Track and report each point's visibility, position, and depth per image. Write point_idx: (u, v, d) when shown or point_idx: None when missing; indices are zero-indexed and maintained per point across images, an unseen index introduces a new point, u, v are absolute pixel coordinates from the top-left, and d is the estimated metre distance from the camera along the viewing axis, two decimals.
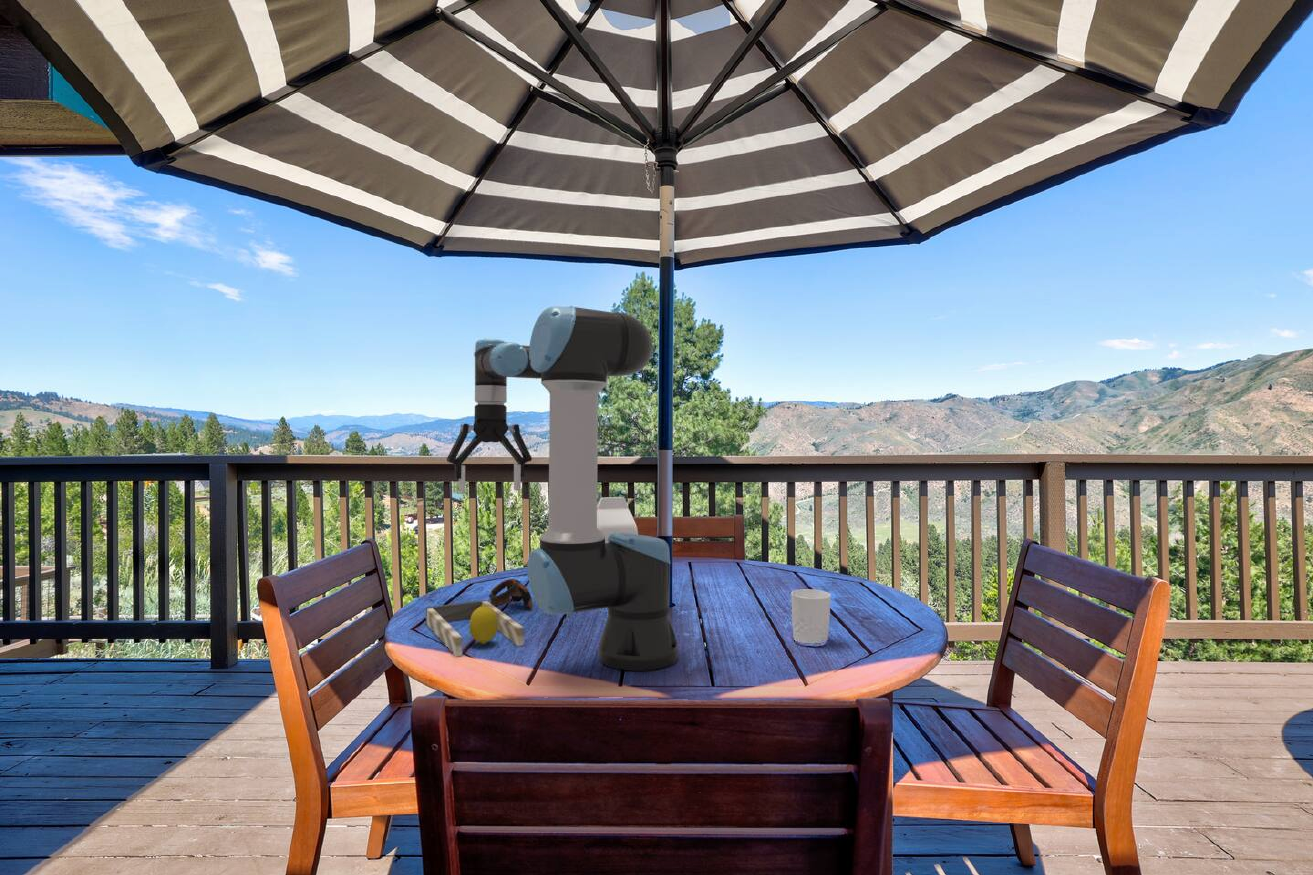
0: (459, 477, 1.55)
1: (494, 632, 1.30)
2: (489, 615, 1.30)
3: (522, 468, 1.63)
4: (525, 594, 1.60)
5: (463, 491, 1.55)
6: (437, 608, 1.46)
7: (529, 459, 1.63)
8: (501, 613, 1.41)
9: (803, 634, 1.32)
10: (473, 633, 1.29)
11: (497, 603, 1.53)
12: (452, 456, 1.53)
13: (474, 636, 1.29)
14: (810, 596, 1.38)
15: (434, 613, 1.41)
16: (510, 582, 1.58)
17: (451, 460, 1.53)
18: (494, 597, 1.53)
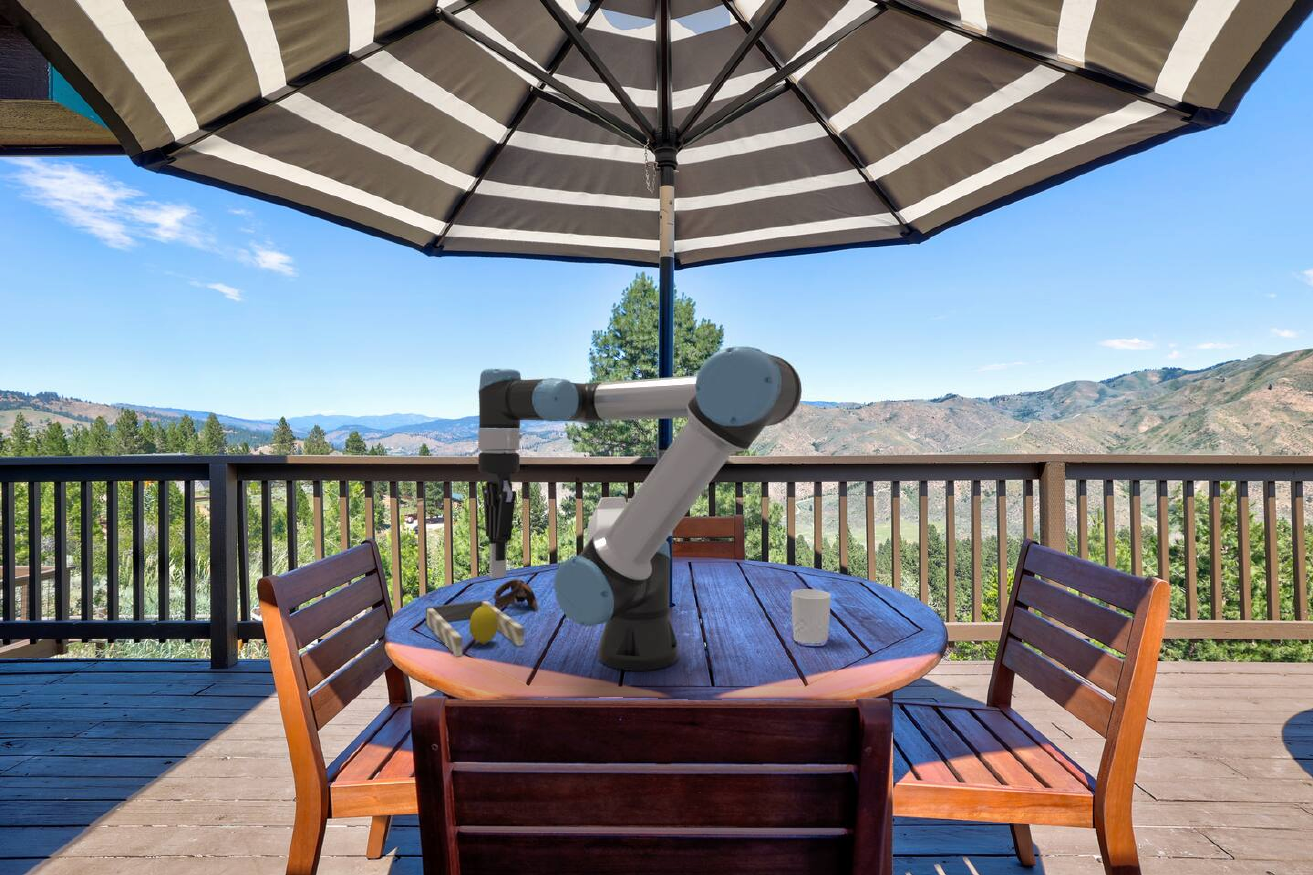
0: None
1: (494, 632, 1.30)
2: (489, 615, 1.30)
3: (496, 549, 1.22)
4: (529, 594, 1.59)
5: (490, 575, 1.23)
6: (437, 608, 1.46)
7: None
8: (501, 613, 1.41)
9: (803, 634, 1.32)
10: (473, 633, 1.29)
11: (502, 603, 1.53)
12: (486, 529, 1.26)
13: (474, 636, 1.29)
14: (810, 596, 1.38)
15: (434, 613, 1.41)
16: (514, 582, 1.58)
17: (486, 534, 1.26)
18: (499, 597, 1.53)
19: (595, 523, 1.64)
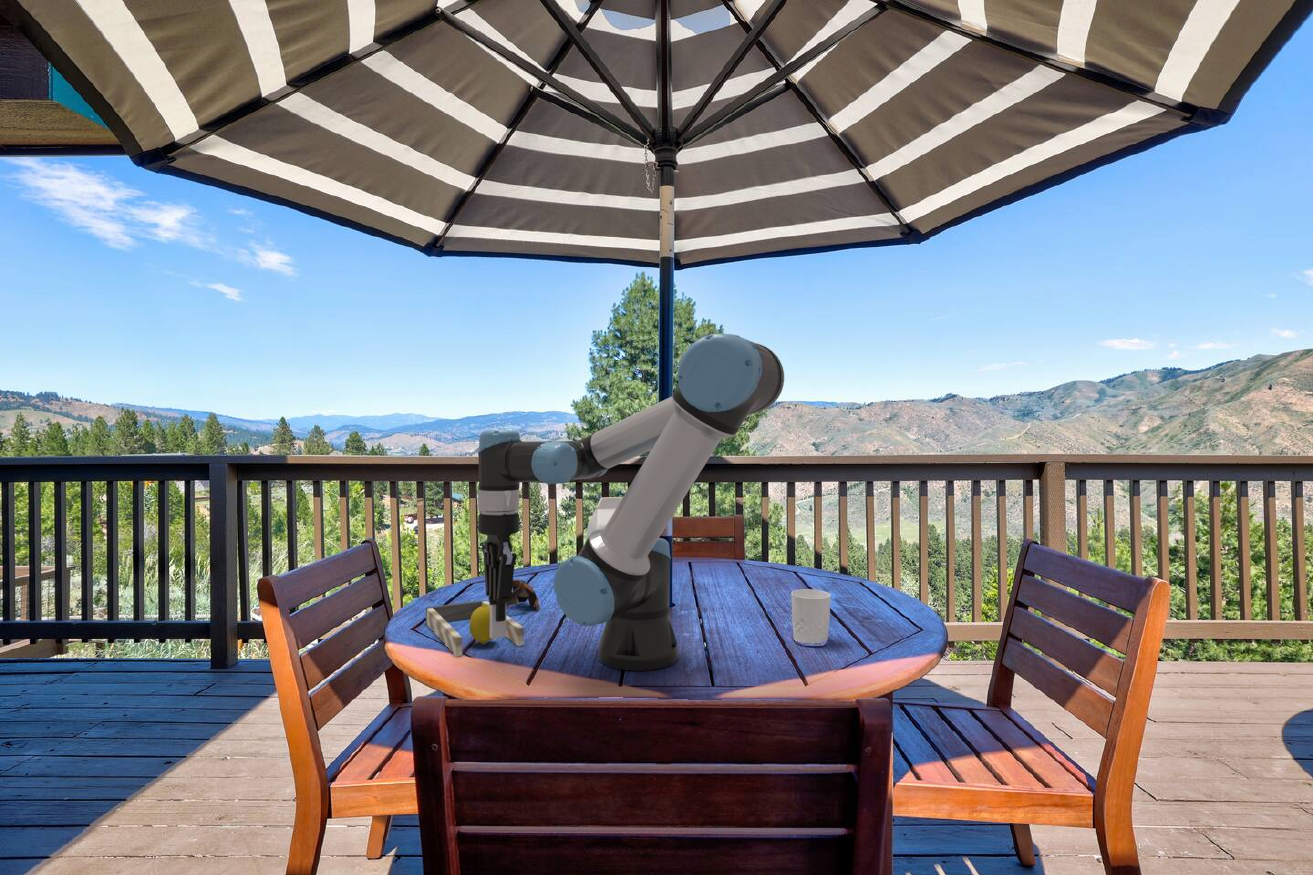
0: None
1: None
2: (489, 615, 1.30)
3: (497, 610, 1.22)
4: (531, 594, 1.59)
5: (490, 635, 1.23)
6: (437, 608, 1.46)
7: (496, 600, 1.21)
8: None
9: (803, 634, 1.32)
10: (473, 633, 1.29)
11: None
12: (486, 588, 1.26)
13: (474, 636, 1.29)
14: (810, 596, 1.38)
15: (434, 613, 1.41)
16: (516, 582, 1.58)
17: (486, 593, 1.26)
18: None
19: (595, 523, 1.64)
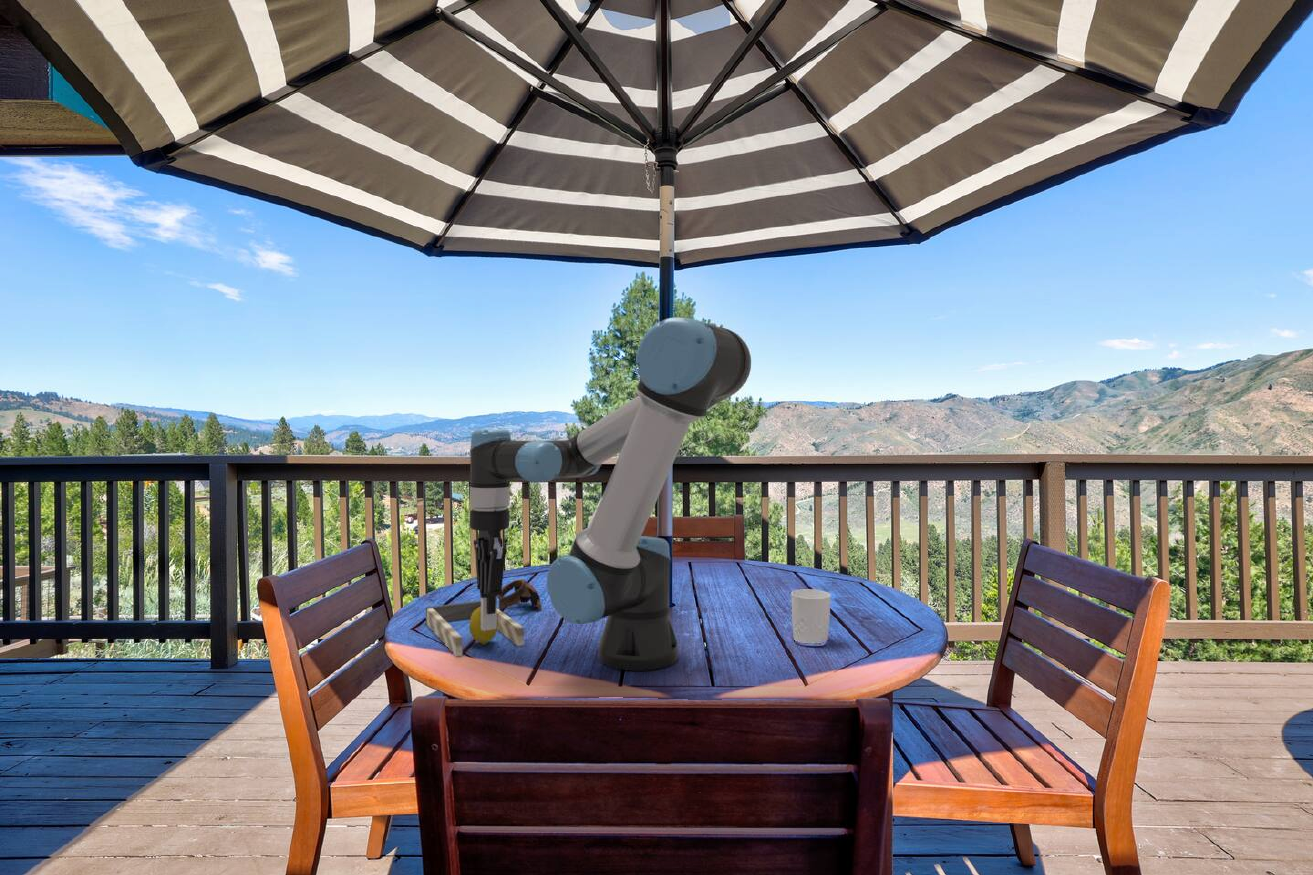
0: None
1: (494, 632, 1.30)
2: None
3: (487, 603, 1.27)
4: (533, 595, 1.59)
5: (481, 627, 1.28)
6: (437, 608, 1.46)
7: (487, 593, 1.25)
8: (501, 613, 1.41)
9: (803, 634, 1.32)
10: (473, 633, 1.29)
11: (506, 604, 1.52)
12: (477, 582, 1.31)
13: (474, 636, 1.29)
14: (810, 596, 1.38)
15: (434, 613, 1.41)
16: (518, 583, 1.58)
17: (477, 586, 1.30)
18: (503, 598, 1.52)
19: None
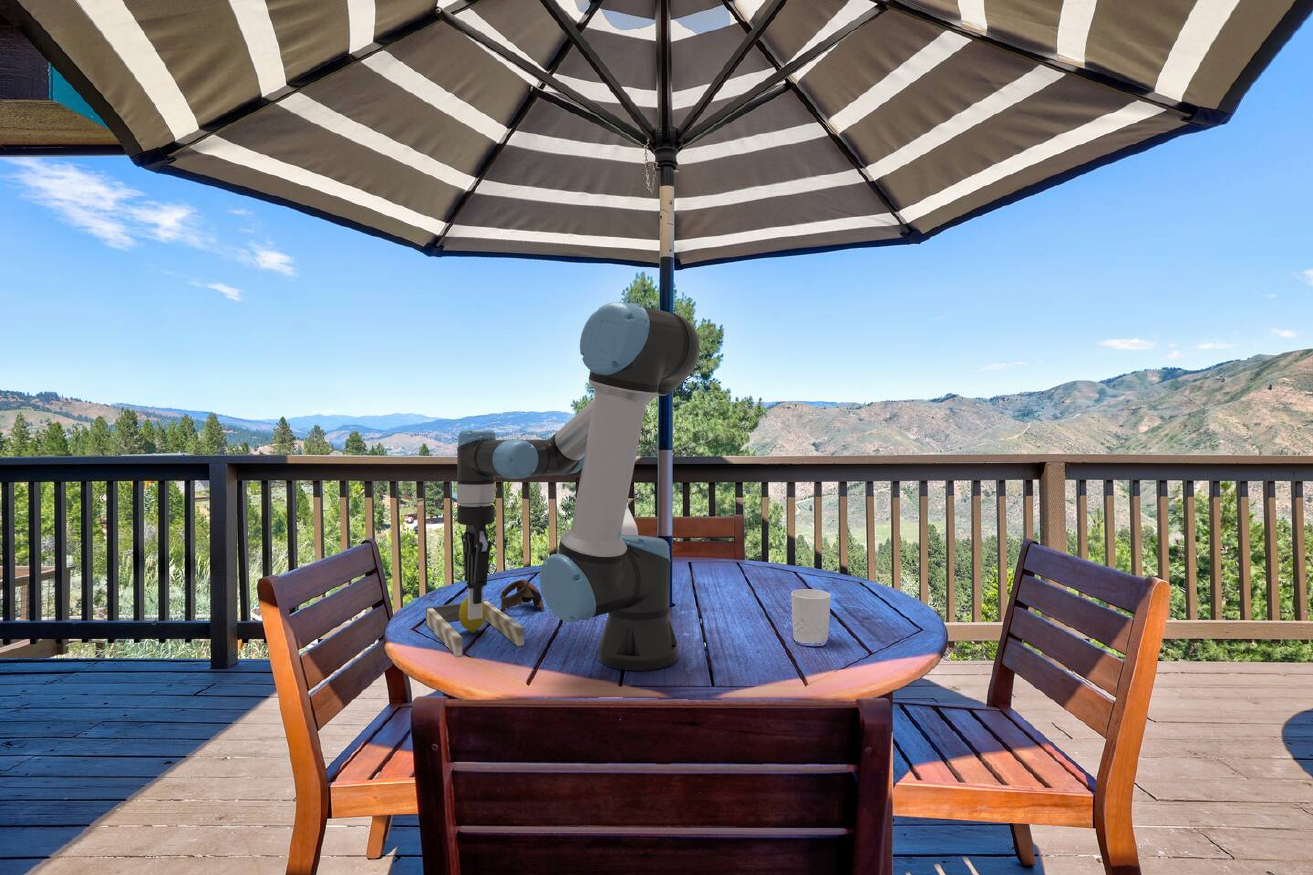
0: None
1: (481, 620, 1.38)
2: None
3: (474, 593, 1.34)
4: (535, 595, 1.59)
5: (468, 616, 1.35)
6: (437, 608, 1.46)
7: None
8: (501, 613, 1.41)
9: (803, 634, 1.32)
10: (461, 621, 1.37)
11: (509, 604, 1.52)
12: (464, 574, 1.38)
13: (462, 624, 1.37)
14: (810, 596, 1.38)
15: (434, 613, 1.41)
16: (520, 583, 1.57)
17: (465, 578, 1.38)
18: (505, 598, 1.52)
19: None
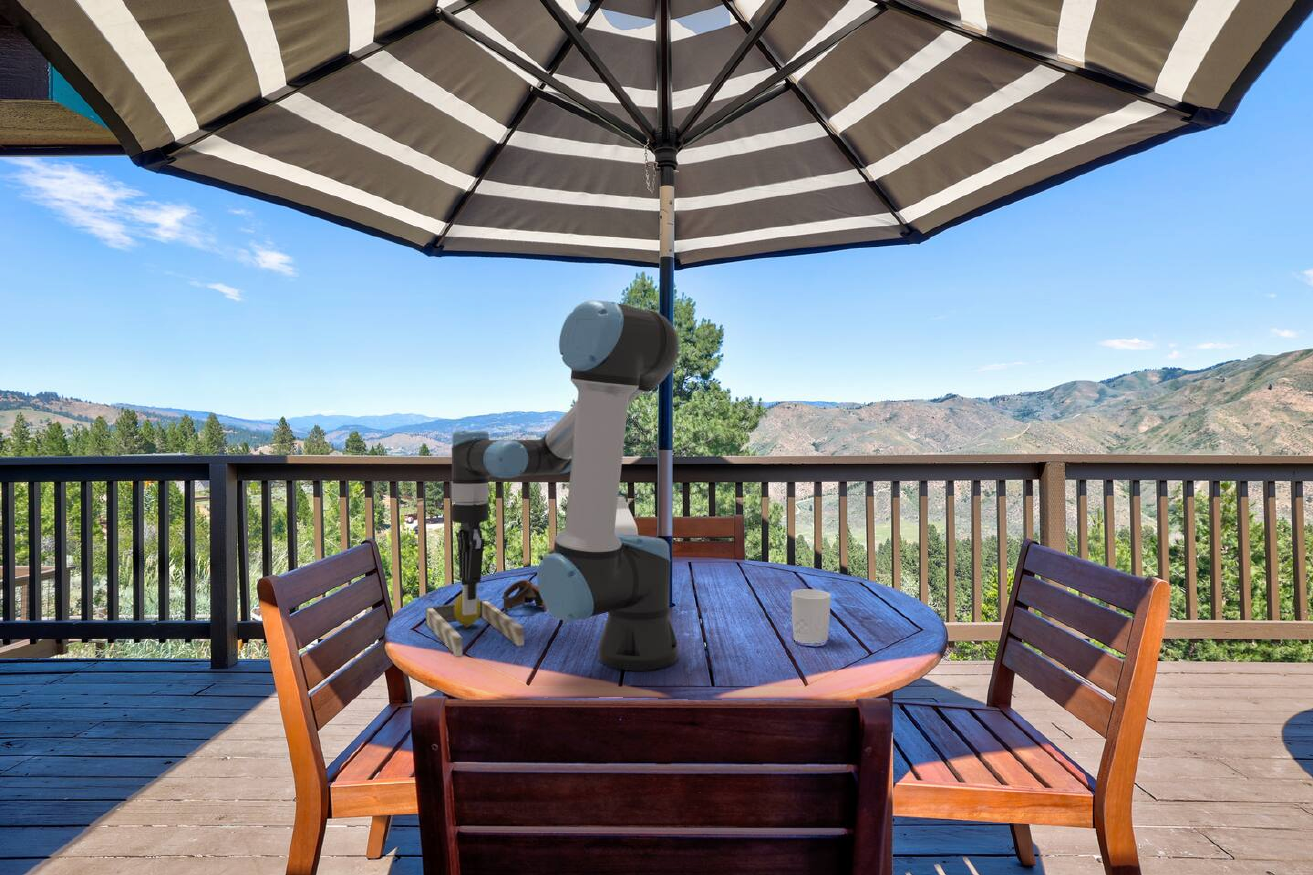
0: None
1: (475, 615, 1.41)
2: None
3: (468, 589, 1.38)
4: (538, 595, 1.59)
5: (462, 612, 1.39)
6: (437, 608, 1.46)
7: (467, 580, 1.36)
8: (501, 613, 1.41)
9: (803, 634, 1.32)
10: (456, 616, 1.41)
11: (511, 604, 1.52)
12: (459, 571, 1.42)
13: (457, 619, 1.41)
14: (810, 596, 1.38)
15: (434, 613, 1.41)
16: (523, 583, 1.57)
17: (459, 575, 1.41)
18: (508, 598, 1.52)
19: None
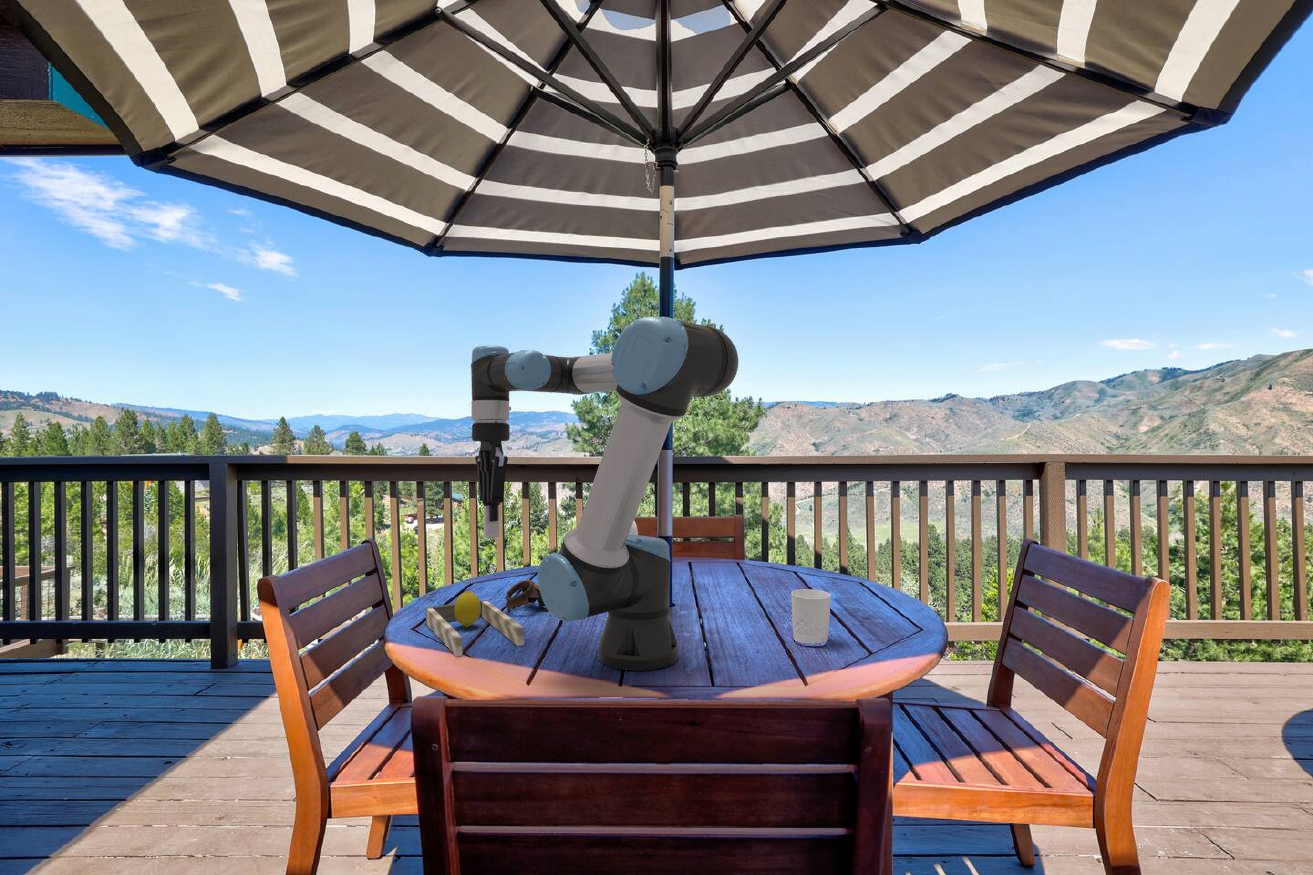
0: None
1: (476, 616, 1.41)
2: (471, 601, 1.41)
3: (490, 511, 1.33)
4: (540, 595, 1.59)
5: (484, 535, 1.34)
6: (437, 608, 1.46)
7: (490, 500, 1.32)
8: (501, 613, 1.41)
9: (803, 634, 1.32)
10: (456, 616, 1.41)
11: (514, 604, 1.52)
12: (479, 494, 1.37)
13: (457, 619, 1.41)
14: (810, 596, 1.38)
15: (434, 613, 1.41)
16: (526, 583, 1.57)
17: (480, 498, 1.37)
18: (511, 598, 1.52)
19: None
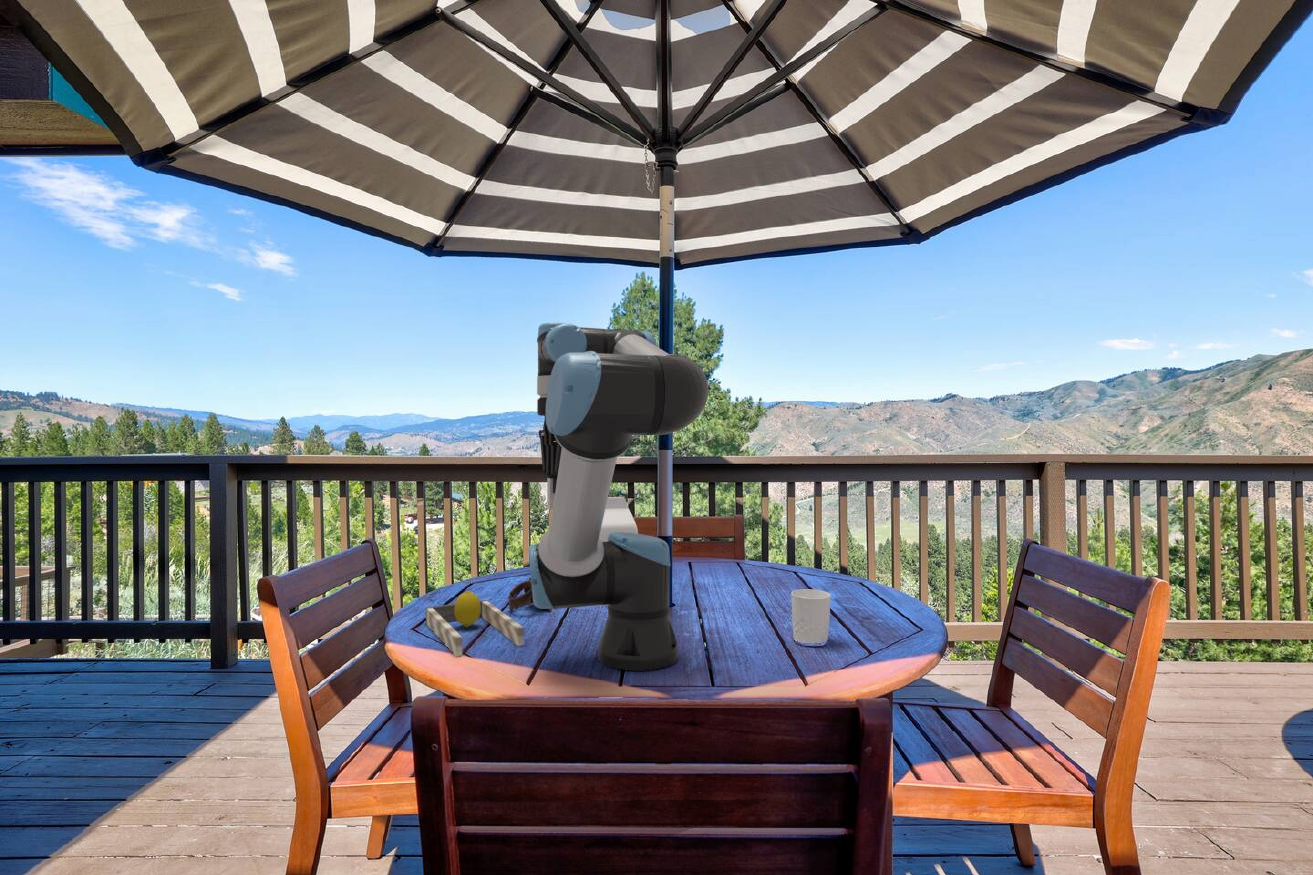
0: None
1: (476, 616, 1.41)
2: (471, 601, 1.41)
3: (554, 483, 1.37)
4: None
5: (548, 507, 1.39)
6: (437, 608, 1.46)
7: (554, 473, 1.36)
8: (501, 613, 1.41)
9: (803, 634, 1.32)
10: (456, 616, 1.41)
11: (517, 605, 1.52)
12: (543, 467, 1.41)
13: (457, 619, 1.41)
14: (810, 596, 1.38)
15: (434, 613, 1.41)
16: (528, 583, 1.57)
17: (543, 471, 1.41)
18: (514, 599, 1.52)
19: None
